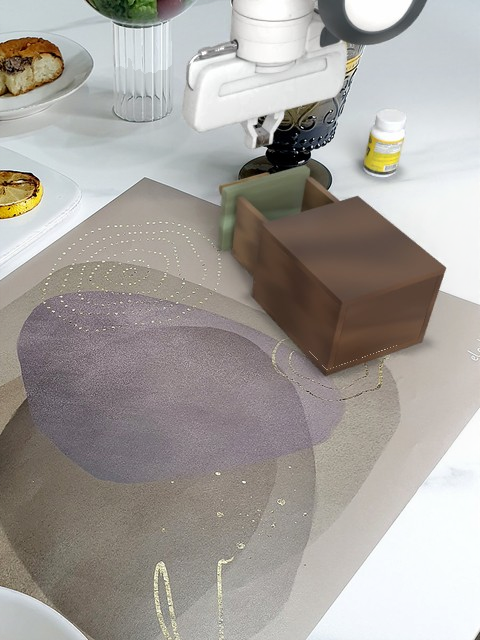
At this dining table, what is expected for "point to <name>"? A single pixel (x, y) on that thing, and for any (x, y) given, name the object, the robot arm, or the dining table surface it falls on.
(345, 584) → the dining table surface
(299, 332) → the cabinet
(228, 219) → the drawer
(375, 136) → the supplement bottle
